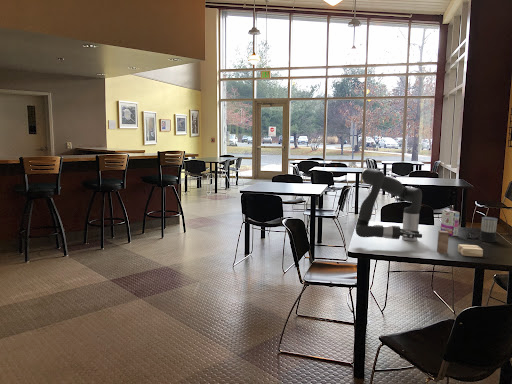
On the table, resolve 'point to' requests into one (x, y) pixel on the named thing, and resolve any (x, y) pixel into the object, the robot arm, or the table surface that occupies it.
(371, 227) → the robot arm
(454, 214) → the candy bar box
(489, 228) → the milk frother
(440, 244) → the walnut block
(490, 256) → the table surface
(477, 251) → the pedestal
